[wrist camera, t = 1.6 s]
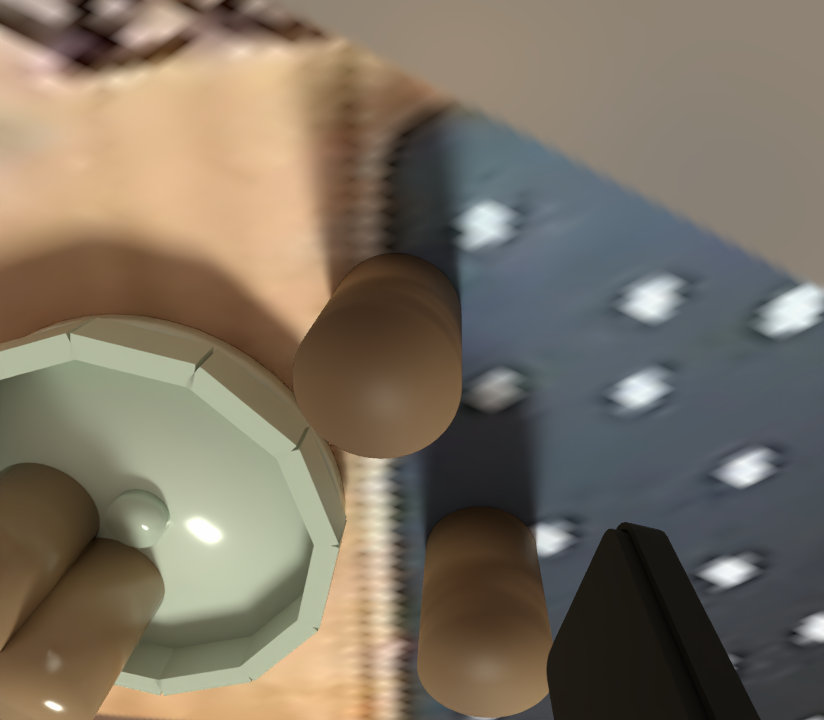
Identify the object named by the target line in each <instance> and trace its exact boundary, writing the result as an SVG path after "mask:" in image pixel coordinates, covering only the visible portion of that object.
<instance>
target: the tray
mask: <svg viewBox="0 0 824 720" xmlns="http://www.w3.org/2000/svg"><path fill="white" fill-rule="evenodd" d="M346 521H347V520H346V515H345V498H344V492H343V485H342V479H341V476H340V473H339V469H338V466H337V463H336V460H335V457H334V455H333V453H332V450H331V448H330V446H329V444H328V442H327V440H325V439H324V438H323V437H321V436H320V435H319V434H318V433H317V432H316V431H315V430H314V429H313V428H312V427H311V425H310V424H309V423H308V422H307V420H306V419H305V417H304V416H303V414H302V412H301V410H300V408H299V406H298V404H297V401H296V398H295V395H294V393H293V392H292V391H291V390H290V389H289V388H288V387H287V386H286V385H284V384H283V383H282V382H281V381H280V380H279V379H278V378H277V377H276V376H275V375H274V374H273V373H271V372H270V371H269V370H267V369H266V368H265V367H263V366H262V365H261V364H259V363H258V362H257V361H255V360H254V359H253V358H251V357H250V356H248V355H247V354H245V353H243V352H242V351H240V350H238V349H237V348H235V347H233V346H231V345H230V344H228V343H226V342H225V341H222V340H220V339H218V338H216V337H213V336H211V335H209V334H206V333H204V332H202V331H200V330H197V329H194V328H191V327H188V326H184V325H181V324H178V323H175V322H172V321H167V320H162V319H157V318H151V317H146V316H138V315H123V314H106V315H91V316H84V317H79V318H74V319H69V320H65V321H61V322H58V323H55V324H53V325H50V326H47V327H45V328H42V329H39V330H37V331H35V332H34V333H32V334H30V335H28V336H25V337H22V338H18V339H15V340H11V341H8V342H4V343H1V344H0V720H93V718H94V716H95V715H96V713H97V712H98V710H99V708H100V706H101V705H102V703H103V701H104V700H105V698H106V696H107V695H108V693H109V691H110V690H111V688H112V686H113V685H118V686H122V687H126V688H131V689H135V690H139V691H143V692H148V693H152V694H156V695H161V693H163V695H164V696H165V695H171V694H178V693H184V692H191V691H197V690H204V689H210V688H216V687H223V686H229V685H236V684H242V683H249V682H252V679H253V680H254V681H255V680H256V679H258V678H259V677H260V676H261V675H263V674H264V673H265V672H266V671H268V670H269V669H270V668H272V667H273V666H274V665H275V664H277V663H278V662H279V661H280V660H282V659H283V658H284V657H285V656H287V655H288V654H289V653H291V652H292V651H293V650H294V649H296V648H297V647H298V646H299V645H301V644H302V643H303V642H305V641H306V640H307V639H308V638H310V637H311V636H312V635H313V634H315V633H316V632H317V631H318V628H320V625H321V621H322V617H323V613H324V610H325V606H326V602H327V599H328V595H329V590H330V586H331V582H332V578H333V574H334V570H335V566H336V562H337V558H338V554H339V550H340V547H341V543H342V538H343V533H344V529H345V525H346Z"/></svg>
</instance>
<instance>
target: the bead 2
mask: <svg viewBox="0 0 824 720" xmlns="http://www.w3.org/2000/svg"><path fill="white" fill-rule="evenodd" d="M552 645H553V642H552V636H551V630H550V624H549V619H548V613H547V607H546V601H545V596H544V590H543V584H542V578H541V572H540V567H539V561H538V555H537V549H536V544H535V540H534V537H533V535H532V533H531V531H530V530H529V529H528V527H527V526H526V525H525V524H524V523H523V522H522V521H521V520H520V519H518V518H517V517H515V516H514V515H512V514H510V513H508V512H506V511H503V510H500V509H497V508H492V507H482V506H480V507H468V508H464V509H460V510H457V511H455V512H452V513H451V514H449V515H447V516H445V517H444V518H443V519H441V520H440V521H439V522H438V523H437V524H436V525H435V526H434V528H433V529H432V531H431V532H430V534H429V537H428V539H427V544H426V555H425V568H424V581H423V594H422V607H421V621H420V634H419V647H418V660H417V669H418V675H419V678H420V681H421V683H422V685H423V686H424V688H425V689H426V691H427V692H428V693H429V694H430V695H431V696H432V697H433V698H434V699H435V700H436V701H438V702H439V703H441V704H442V705H444V706H445V707H447V708H449V709H451V710H454V711H456V712H459V713H462V714H466V715H470V716H475V717H490V718H494V717H504V716H509V715H513V714H517V713H520V712H522V711H525V710H527V709H529V708H531V707H533V706H534V705H536V704H537V703H538V702H540V701H541V700H542V699H543V698H544V697H545V696H546V695H547V694H548V692H549V687H548V682H547V674H546V667H547V659H548V655H549V652H550V649H551V647H552Z"/></svg>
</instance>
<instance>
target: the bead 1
mask: <svg viewBox="0 0 824 720" xmlns="http://www.w3.org/2000/svg"><path fill="white" fill-rule="evenodd" d="M292 380H293V389H294V395H295V398H296V401H297V404H298V406H299V408H300V410H301V412H302V414H303V416H304V417H305V419H306V420H307V422H308V423H309V424H310V425H311V427H312V428H313V429H314V430H315V431H316V432H317V433H318V434H319V435H320V436H321V437H323V438H324V439H325V440H327V441H328V442H329V443H331V444H333V445H334V446H336V447H338V448H339V449H342V450H344V451H346V452H349V453H352V454H355V455H358V456H363V457H368V458H379V459H382V458H395V457H401V456H405V455H408V454H412V453H414V452H416V451H419V450H421V449H423V448H425V447H426V446H428V445H430V444H431V443H432V442H434V441H435V440H436V439H438V438H439V437H440V436H441V435H442V434H443V433H444V432H445V430H446V429H447V428H448V426H449V425H450V424H451V422H452V420H453V418H454V417H455V415H456V412H457V409H458V407H459V403H460V399H461V392H462V320H461V306H460V302H459V298H458V295H457V293H456V291H455V289H454V287H453V285H452V284H451V282H450V281H449V279H448V278H447V277H446V276H445V275H444V274H443V272H441V271H440V270H439V269H438V268H437V267H436V266H434V265H433V264H431V263H429V262H428V261H426V260H424V259H421V258H419V257H416V256H413V255H408V254H401V253H389V254H382V255H377V256H375V257H372V258H369V259H367V260H365V261H363V262H361V263H360V264H358V265H357V266H356V267H354V268H353V269H352V270H351V271H350V272H349V273H348V274H347V275H346V277H345V278H344V279H343V281H342V282H341V284H340V285H339V287H338V288H337V290H336V291H335V293H334V294H333V296H332V297H331V299H330V300H329V302H328V303H327V305H326V306H325V308H324V309H323V310H322V312H321V313H320V315H319V316H318V318H317V319H316V321H315V322H314V324H313V325H312V327H311V328H310V330H309V331H308V333H307V334H306V336H305V337H304V339H303V341H302V342H301V344H300V346H299V348H298V351H297V353H296V356H295V360H294V364H293V372H292Z"/></svg>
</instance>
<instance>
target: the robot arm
mask: <svg viewBox="0 0 824 720" xmlns="http://www.w3.org/2000/svg"><path fill="white" fill-rule="evenodd" d="M546 674H547V682H548V687H549V693H550V699H551V704H552V710H553V716H554V720H760V718H759V716H758V714H757V712H756V710H755V708H754V706H753V704H752V702H751V700H750V698H749V696H748V694H747V692H746V690H745V688H744V686H743V684H742V682H741V680H740V678H739V676H738V674H737V672H736V671H735V669H734V667H733V665H732V663H731V661H730V659H729V657H728V655H727V653H726V651H725V649H724V647H723V645H722V643H721V641H720V639H719V637H718V635H717V633H716V631H715V629H714V627H713V625H712V623H711V621H710V620H709V618H708V616H707V614H706V612H705V610H704V608H703V606H702V604H701V602H700V600H699V598H698V596H697V594H696V592H695V590H694V588H693V586H692V584H691V582H690V580H689V578H688V576H687V574H686V572H685V570H684V569H683V567H682V565H681V563H680V561H679V559H678V557H677V555H676V553H675V551H674V549H673V547H672V545H671V543H670V541H669V539H668V537H667V536H666V534H665V533H664V532H663V531H661V530H658V529H654V528H649V527H645V526H641V525H636V524H632V523H628V522H624V523H621V524H620V525H619V526H618V527H617V529H616V530H615V529H608V530H607V531H606V532H605V534H604V535H603V537H602V539H601V541H600V544H599V546H598V548H597V550H596V552H595V554H594V557H593V559H592V561H591V563H590V565H589V567H588V569H587V572H586V574H585V576H584V578H583V580H582V582H581V585H580V587H579V589H578V591H577V593H576V595H575V597H574V600H573V602H572V604H571V606H570V608H569V610H568V613H567V615H566V617H565V619H564V621H563V623H562V625H561V628H560V630H559V632H558V634H557V636H556V638H555V641H554V643H553V645H552V647H551V649H550V652H549V655H548V659H547V667H546Z"/></svg>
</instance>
